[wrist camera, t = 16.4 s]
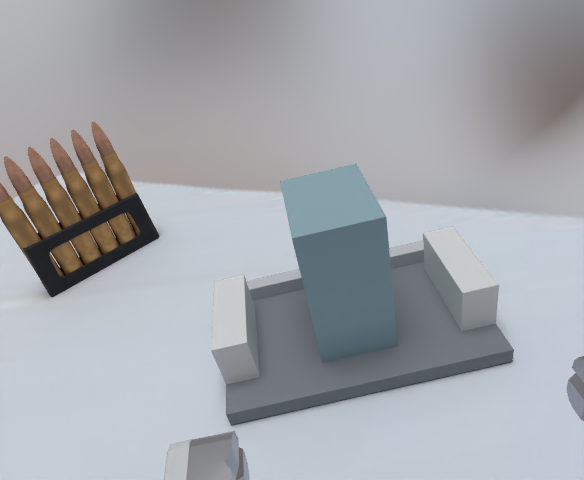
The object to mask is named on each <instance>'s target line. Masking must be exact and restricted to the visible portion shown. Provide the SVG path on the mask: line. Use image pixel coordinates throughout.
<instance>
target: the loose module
mask: <svg viewBox="0 0 584 480" xmlns="http://www.w3.org/2000/svg"><path fill="white" fill-rule="evenodd" d="M280 183H281V188H282V192H283V197H284V202H285V207H286V211H287V216H288V221H289V226H290V231H291V235H292V240H293V244H294V248H295V252H296V257H297V261H298V265H299V269H300V273H301V277H302V281H303V285H304V290H305V294H306V298H307V302H308V306H309V310H310V314H311V319H312V323H313V327H314V331H315V335H316V339H317V343H318V348H319V352H320V356H321V360H322V363H325V362H329V361H333V360H338V359H342V358H347V357H351V356H355V355H360V354H364V353H369V352H373V351H378V350H382V349H386V348H391V347H395V346H398V341H397V330H396V319H395V308H394V297H393V286H392V275H391V264H390V254H389V243H388V232H387V221H386V216H385V214H384V212H383V210H382V208H381V207H380V205H379V203H378V201H377V200H376V198H375V196H374V194H373V193H372V191H371V189H370V187H369V186H368V184H367V182H366V180H365V179H364V177H363V175H362V173H361V171H360V170H359V168H358V166H357V164H353V165H349V166H344V167H340V168H336V169H331V170H327V171H323V172H319V173H314V174H310V175H306V176H301V177H298V178H293V179H289V180H284V181H281V182H280Z"/></svg>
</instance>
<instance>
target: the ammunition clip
mask: <svg viewBox="0 0 584 480" xmlns="http://www.w3.org/2000/svg"><path fill="white" fill-rule="evenodd" d="M92 133H93V137H94V141H95V143H96V146H97V149H98V151H99V153H100V155H101V158H102V161H103V163H104V166H105V171H106V174H107V176H108V178H109V180H110V182H111V184H112V186H113V188H114V190H115V193H116V195H115V193H114V191H113V188H112V186H111V184H110V182H109V180H108V178H107V176H106V175H105V173H104V172H103V170H102V169H101V168H100V166H99V164H98V163H97V161H96V159H95V158H94V156H93V154H92V152H91V150H90V148H89V147H88V145H87V144H86V142H85V141H84V140H83V138H82V137H81V136H80V135H79V134H78V133H77V132H76V131H75V130H72V131H71V136H72V142H73V145H74V148H75V151H76V154H77V156H78V158H79V160H80V162H81V165H82V168H83V170H84V172H85V175H86V179H87V182H88V184H89V186H90V188H91V190H92V192H93V194H94V196H95V198H96V200H97V202H98V204H97V202H96V200H95V198H94V197H93V195H92V193H91V191H90V189H89V187H88V185H87V183H86V182H85V181H84V179H83V178H82V177H81V176H80V174H79V172H78V170H77V169H76V168H75V166H74V164H73V162H72V160H71V159H70V157H69V156H68V154H67V153H66V151H65V150H64V149H63V148H62V146H61V145H60V144H59V143H58V142H57V141H56V140H54V139H53V138H51V139H50V145H51V150H52V154H53V157H54V159H55V162H56V164H57V166H58V168H59V170H60V172H61V175H62V177H63V179H64V181H65V184H66V187H67V190H68V192H69V194H70V196H71V198H72V200H73V202H74V203H75V205H76V207H77V209H78V211H79V213H78V211H77V210H76V208H75V206H74V204H73V203H72V201H71V199H70V197H69V195H68V194H67V192H66V191H65V190H64V188H63V187H62V186H61V185H60V183H59V182H58V180H57V179H56V177H55V176H54V174H53V173H52V171H51V169H50V168H49V166H48V165H47V163H46V162H45V161H44V159H43V158H42V157H41V156H40V155H39V154H38V153H37V152H36V151H35V150H34V149H33V148H31V147H29V148H28V156H29V159H30V163H31V165H32V168H33V170H34V172H35V174H36V176H37V178H38V180H39V182H40V184H41V186H42V188H43V190H44V192H45V195H46V198H47V201H48V203H49V205H50V206H51V208H52V210H53V211H54V213H55V215H56V217H57V218H58V220H59V223H58V222H57V220H56V219H55V217H54V215H53V214H52V212H51V210H50V209H49V207H48V205H47V204H46V202H45V201H44V200H43V198H42V197H41V196H40V195H39V194H38V193H37V191H36V190H35V188H34V186H32V184H31V182H30V181H29V179H28V178H27V176H26V175H25V174H24V172H23V171H22V170H21V169H20V168H19V166H17V165H16V163H15V162H13V161H12V160H11V159H10V158H8V157H4V163H5V168H6V171H7V174H8V176H9V178H10V180H11V182H12V184H13V186H14V188H15V190H16V191H17V194H18V195H19V197H20V199H21V201H22V203H23V206H24V209H25V211H26V213H27V214H28V216H29V218H30V219H31V221H32V222H33V224H34V226H35V227H36V229H37V230H38V232H39V233H37V232H36V231H35V229H34V228H33V226H32V225H31V223H30V221H29V220H28V218H27V217H26V215H25V214H24V212H23V211H22V210H21V209H20V208H19V207H18V206H17V205H16V204H15V202H14V201H13V199H12V198H11V197H10V196H9V194H8V193H7V191H6V190H5V188H4V187H3V186H2V185H1V183H0V217H1V219H2V222H3V223H4V225H5V226H6V228H7V229H8V231H9V232H10V234H11V235H12V237H13V238H14V240H15V241H16V243H17V244H18V246H19V247H20V249H21V250H22V252H23V253H24V255H25V256H26V258H27V259H28V261H29V262H30V264H31V265H32V267H33V268H34V270H35V271H36V273H37V275H38V276H39V278H40V280H41V281H42V283H43V285H44V286H45V288H46V290H47V291H48V293H49V295H50V296H51V297H54V296H56V295H58V294H59V293H61V292H63V291H65V290H67V289H68V288H70V287H72V286H74V285H75V284H77V283H79V282H81V281H83V280H84V279H86V278H88V277H90V276H92V275H93V274H95V273H97V272H99V271H100V270H102V269H104V268H106V267H108V266H109V265H111V264H113V263H115V262H117V261H118V260H120V259H122V258H124V257H125V256H127V255H129V254H131V253H133V252H134V251H136V250H138V249H140V248H142V247H143V246H145V245H147V244H149V243H150V242H152V241H154V240H156V239H158V237H159V234H158V232H157V230H156V228H155V226H154V225H153V223H152V221H151V219H150V217H149V215H148V213H147V211H146V209H145V207H144V205H143V203H142V201H141V199H140V198H139V196H138V194H137V193H136V191H135V189H134V187H133V185H132V182H131V180H130V178H129V176H128V174H127V171H126V169H125V167H124V166H123V164H122V163H121V161H120V160H119V158H118V156H117V154H116V153H115V151H114V149H113V147H112V145H111V143H110V141H109V139H108V138H107V136H106V135H105V133H104V132H103V131H102V129H101V128H100V127H99V126H98V125H97V124H96V123H95V122H92ZM125 214H126V215H125ZM126 216H127V217H126ZM127 218H128V219H127ZM128 220H129V221H128ZM107 221H108V223H109V225H110V227H111V229H112V231H113V233H114V235H115V236H114V235H113V233H112V231H111V229H110V227H109V225H108V223H107ZM129 222H130V223H129ZM130 224H131V225H130ZM131 226H132V227H131ZM89 231H90V233H91V235H92V236H91V235H90V233H89ZM92 237H93V238H94V240H95V242H96V244H97V245H96V244H95V242H94V240H93V238H92ZM115 237H116V238H115ZM69 240H70V241H71V242H72V244H73V246H74V248H75V249H76V251H77V253H78V254H79V256H80V257H78V255H77V253H76V252H75V250H74V248H73V247H72V245H71V243H70V242H69ZM97 246H98V247H97ZM50 251H51V253H52V255H53V256H54V258H55V259H56V261H57V263H58V264H59V266H60V267H61V268H59V267H58V265H57V263H56V262H55V260H54V259H53V257H52V256H51V254H50Z"/></svg>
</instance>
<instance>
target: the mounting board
mask: <svg viewBox="0 0 584 480" xmlns="http://www.w3.org/2000/svg"><path fill="white" fill-rule="evenodd" d="M389 254H390V264H391V275H392V286H393V297H394V308H395V319H396V330H397V341H398V346H395V347H391V348H386V349H382V350H378V351H373V352H369V353H364V354H360V355H355V356H351V357H347V358H342V359H338V360H333V361H329V362H325V363H322V360H321V356H320V352H319V348H318V343H317V339H316V335H315V331H314V327H313V323H312V319H311V314H310V310H309V306H308V302H307V298H306V294H305V290H304V285H303V281H302V277H301V273H300V269H297V270H293V271H289V272H284V273H280V274H276V275H271V276H267V277H263V278H258V279H254V280H250V281H246V279H245V276H244V275H240V276H236V277H231V278H227V279H223V280H218V281H214V299H213V321H212V343H211V351H212V354H213V356H214V358H215V360H216V362H217V365H218V367H219V369H220V371H221V374H222V376H223V378H224V380H225V383H226V415H227V417H228V419H229V422H230V424H231V425H234V424H238V423H243V422H247V421H251V420H256V419H260V418H265V417H269V416H274V415H278V414H282V413H287V412H291V411H296V410H300V409H305V408H309V407H313V406H318V405H322V404H327V403H331V402H336V401H340V400H345V399H349V398H353V397H358V396H362V395H367V394H371V393H376V392H380V391H384V390H389V389H393V388H398V387H402V386H407V385H411V384H415V383H420V382H424V381H429V380H433V379H438V378H442V377H446V376H451V375H455V374H460V373H464V372H469V371H473V370H478V369H482V368H486V367H491V366H495V365H500V364H504V363H509V362H512V359H513V351H514V349H513V348H512V347H511V345H510V344H509V342H508V341H507V339H506V338H505V336H504V335H503V334H502V332H501V331H500V329H499V328H498V326H497V325H496V313H497V302H498V290H499V284H498V283H497V282H496V280H495V279H494V278H493V277H492V275H491V274H490V273H489V271H488V270H487V269H486V268H485V266H484V265H483V264H482V262H481V261H480V260H479V259H478V257H477V256H476V255H475V253H474V252H473V251H472V250H471V248H470V247H469V246H468V245H467V243H466V242H465V241H464V239H463V238H462V237H461V236H460V234H459V233H458V232H457V230H456V229H455V228H454V227H453V226H452V227H448V228H444V229H439V230H435V231H431V232H426V233H423V241H419V242H415V243H410V244H406V245H402V246H397V247H393V248H389Z"/></svg>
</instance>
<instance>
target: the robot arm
mask: <svg viewBox="0 0 584 480" xmlns="http://www.w3.org/2000/svg"><path fill="white" fill-rule="evenodd" d="M572 368H573V370H574V371H575V372H576V373H575V374H574V375H573V376H572V377H571V378H570V379H569V380H568V384H567V393H568V398H569V401H570V403H571V405H572V407H573V409H574V410H575V412H576V413H577V415H578V416H579V418H580V419H581V420H583V421H584V356H583V357H579V358H577V359H576V360H574V363H573V366H572ZM164 480H249V471H248V463H247V460H246V456H245V453H244V451H243V449H242V448H239V444H238V437H237V435H236V433H235V431H232V432H228V433H223V434H218V435H213V436H208V437H204V438H199V439H194V440H193V439H192V440H187V441H183V442H178V443H174V444H170V447H169V449H168V452H167V459H166V467H165V476H164Z"/></svg>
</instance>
